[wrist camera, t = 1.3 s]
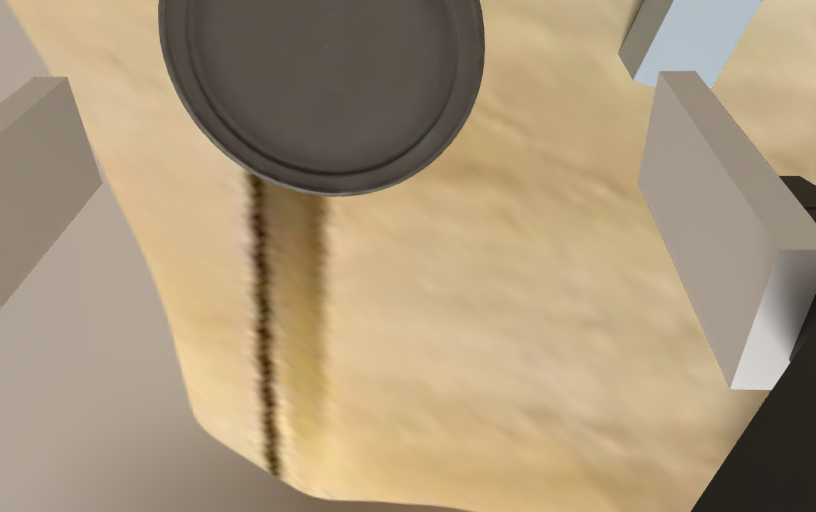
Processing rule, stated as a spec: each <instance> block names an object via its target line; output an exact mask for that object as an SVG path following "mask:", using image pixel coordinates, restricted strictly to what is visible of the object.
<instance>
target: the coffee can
mask: <svg viewBox="0 0 816 512" xmlns="http://www.w3.org/2000/svg"><path fill="white" fill-rule="evenodd" d="M158 20H159V35H160V43H161V48H162V53H163V57H164V60H165V64H166V67H167V70H168V74H169V76H170V79H171V81H172V83H173V85H174V88H175V90H176V93H177V95H178V96H179V98H180V100H181V102H182V104H183V105H184V107H185V109H186V110H187V112H188V113H189V115H190V116H191V118H192V119H193V121H194V122H195V123H196V125H197V126H198V127H199V129H200V130H201V131H202V132H203V133H204V134H205V135H206V136H207V137H208V139H209V140H210V141H211V142H212V143H213V144H214V145H215V146H216V147H217V148H218V149H220V150H221V151H222V152H223V153H224V154H225V155H226V156H228V157H229V158H230V159H231V160H233V161H234V162H236V163H237V164H239V165H240V166H241V167H243V168H244V169H246V170H248V171H249V172H251V173H253V174H255V175H256V176H258V177H260V178H262V179H264V180H266V181H268V182H271V183H273V184H276V185H278V186H281V187H284V188H287V189H291V190H294V191H297V192H304V193H307V194H312V195H320V196H330V197H337V196H342V197H343V196H354V195H362V194H368V193H372V192H376V191H379V190H383V189H386V188H389V187H391V186H394V185H396V184H399V183H401V182H403V181H405V180H406V179H408V178H410V177H412V176H413V175H415V174H417V173H418V172H420V171H421V170H423V169H424V168H425V167H427V166H428V165H429V164H431V163H432V162H433V161H434V160H435V159H436V158H438V157H439V156H440V155H441V154H442V153H443V151H444V150H445V149H446V148H447V147H448V146H449V145H450V144H451V143H452V141H453V140H454V139H455V137H456V136H457V135H458V133H459V132H460V130H461V129H462V127H463V125H464V124H465V122H466V120H467V118H468V117H469V115H470V113H471V110H472V108H473V106H474V103H475V100H476V98H477V95H478V92H479V88H480V84H481V80H482V75H483V68H484V54H485V39H484V23H483V16H482V10H481V5H480V1H479V0H159V5H158Z"/></svg>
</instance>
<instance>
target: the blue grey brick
mask: <svg viewBox="0 0 816 512" xmlns="http://www.w3.org/2000/svg"><path fill="white" fill-rule="evenodd" d="M761 2H762V0H644V2H643V4H642V6H641V8H640V10H639V12H638V14H637V16H636V18H635V20H634V22H633V25H632V27H631V29H630V31H629V33H628V35H627V37H626V39H625V41H624V43H623V45H622V47H621V49H620V51H619V53H618V55H619V57H620V58H621V60H622V62H623V63H624V65H625V67H626V69H627V70H628V72H629V74H630V75H631V77H632V79H633V80H635V81H638V82H641V83H643V84H646V85H649V86H652V87H655V88H656V84H657V79H658V74H659V71H696V72H697V74H698V75H699V76H700V77H701V79H702V80H703V81H704V82H705V84H706V85H707V86H708V87H709V89H710V90H711V88H712V86H713V84H714V83H715V81H716V79H717V78H718V76H719V74H720V72H721V71H722V69H723V67H724V65H725V64H726V62H727V60H728V59H729V57H730V55H731V53H732V52H733V50H734V48H735V47H736V45H737V43H738V41H739V40H740V38H741V36H742V35H743V33H744V31H745V29H746V28H747V26H748V24H749V23H750V21H751V19H752V17H753V16H754V14H755V12H756V10H757V9H758V7H759V5H760V4H761Z"/></svg>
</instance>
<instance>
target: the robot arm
mask: <svg viewBox="0 0 816 512" xmlns="http://www.w3.org/2000/svg"><path fill="white" fill-rule="evenodd" d="M101 184H102V181H101V178H100V175H99V172H98V169H97V166H96V163H95V160H94V157H93V154H92V151H91V148H90V145H89V141H88V138H87V135H86V132H85V129H84V126H83V123H82V120H81V117H80V114H79V111H78V108H77V105H76V102H75V99H74V96H73V93H72V90H71V87H70V84H69V81H68V78H67V77H34V78H33V79H31V80H30V81H29V82H27V83H26V84H25V85H23V86H22V87H21V88H19V89H18V90H17V91H16V92H14V93H13V94H12V95H10V96H9V97H8V98H7V99H5V100H4V101H3V102H1V103H0V309H1V308H2V306H3V305H4V304H5V303H6V301H7V300H8V299H9V298H10V296H11V295H12V294H13V293H14V292H15V290H16V289H17V288H18V287H19V285H20V284H21V283H22V282H23V280H24V279H25V278H26V277H27V276H28V274H29V273H30V271H32V269H33V268H34V267H35V266H36V264H37V263H38V262H39V260H40V259H41V258H42V257H43V255H45V253H46V252H47V251H48V250H49V248H50V247H51V246H52V245H53V243H54V242H55V241H56V240H57V239H58V237H59V236H60V235H61V234H62V232H63V231H64V230H65V228H66V227H67V226H68V225H69V224H70V223H71V221H72V220H73V219H74V218H75V216H76V215H77V214H78V213H79V211H80V210H81V209H82V208H83V206H84V205H85V204H86V203H87V202H88V200H89V199H90V198H91V197H92V195H93V194H94V193H95V192H96V190H97V189H98V188H99V187H100V186H101ZM638 185H639V187H640V189H641V192H642V194H643V196H644V198H645V201H646V203H647V205H648V207H649V210H650V212H651V214H652V216H653V219H654V221H655V223H656V225H657V227H658V230H659V232H660V234H661V236H662V239H663V241H664V243H665V245H666V248H667V250H668V252H669V254H670V257H671V259H672V261H673V263H674V266H675V268H676V270H677V272H678V274H679V277H680V279H681V281H682V283H683V286H684V288H685V290H686V292H687V295H688V297H689V299H690V301H691V304H692V306H693V308H694V310H695V313H696V315H697V317H698V319H699V321H700V324H701V326H702V328H703V330H704V333H705V335H706V337H707V339H708V342H709V344H710V346H711V348H712V351H713V353H714V355H715V357H716V360H717V362H718V364H719V366H720V368H721V371H722V373H723V375H724V377H725V380H726V382H727V384H728V386H729V389H742V390H771V392H770V393H769V395H768V396H767V398H766V399H765V401H764V402H763V404H762V405H761V407H760V408H759V410H758V411H757V413H756V414H755V416H754V417H753V419H752V420H751V422H750V423H749V425H748V426H747V428H746V429H745V431H744V432H743V434H742V435H741V437H740V438H739V440H738V441H737V443H736V444H735V446H734V447H733V449H732V450H731V452H730V453H729V455H728V456H727V458H726V459H725V461H724V462H723V464H722V465H721V467H720V468H719V470H718V471H717V473H716V474H715V476H714V477H713V479H712V480H711V482H710V483H709V485H708V486H707V488H706V489H705V491H704V492H703V494H702V495H701V497H700V498H699V500H698V501H697V503H696V504H695V506H694V507H693V509H692V510H691V512H816V186H815V185H814V184H812V183H810V182H809V181H807V180H805V179H804V178H802V177H800V176H778V175H777V173H776V172H775V171H774V170H773V168H772V167H771V166H770V165H769V163H768V162H767V161H766V159H765V158H764V157H763V156H762V154H761V153H760V152H759V151H758V149H757V148H756V147H755V146H754V144H753V143H752V142H751V141H750V139H749V138H748V137H747V135H746V134H745V133H744V132H743V130H742V129H741V128H740V127H739V125H738V124H737V123H736V122H735V120H734V119H733V118H732V116H731V115H730V114H729V113H728V111H727V110H726V109H725V108H724V106H723V105H722V104H721V103H720V101H719V100H718V99H717V98H716V96H715V95H714V94H713V92H712V91H711V90H710V89H709V87H708V86H707V85H706V84H705V82H704V81H703V80H702V79H701V77H700V76H699V75H698V74H697V72H696V71H659V74H658V79H657V84H656V89H655V95H654V100H653V105H652V110H651V115H650V121H649V126H648V131H647V136H646V141H645V147H644V152H643V157H642V162H641V167H640V172H639V178H638Z"/></svg>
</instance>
